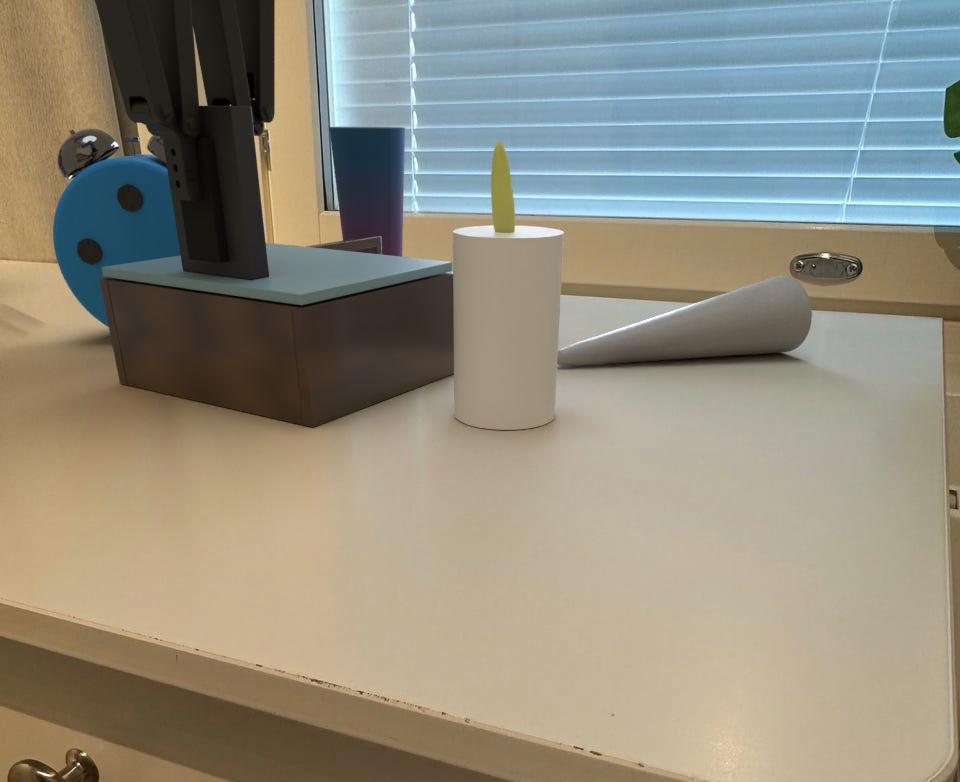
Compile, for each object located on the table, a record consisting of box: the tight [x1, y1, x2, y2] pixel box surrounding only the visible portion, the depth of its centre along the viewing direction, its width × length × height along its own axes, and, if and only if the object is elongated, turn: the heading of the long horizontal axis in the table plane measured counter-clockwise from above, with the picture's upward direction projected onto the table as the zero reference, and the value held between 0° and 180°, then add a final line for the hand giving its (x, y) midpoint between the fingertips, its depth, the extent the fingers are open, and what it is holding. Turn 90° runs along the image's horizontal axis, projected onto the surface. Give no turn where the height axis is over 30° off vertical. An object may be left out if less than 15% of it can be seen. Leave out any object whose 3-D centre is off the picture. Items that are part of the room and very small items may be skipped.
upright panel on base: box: [102, 105, 453, 305], centre depth 57 cm, size 17×15×10 cm
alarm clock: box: [52, 127, 181, 328], centre depth 70 cm, size 13×6×15 cm, turn 92°
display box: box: [99, 236, 454, 428], centre depth 66 cm, size 18×29×7 cm, turn 148°
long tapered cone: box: [557, 274, 813, 367], centre depth 66 cm, size 6×6×19 cm
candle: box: [452, 140, 565, 431], centre depth 52 cm, size 6×6×15 cm
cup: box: [328, 126, 406, 257], centre depth 84 cm, size 7×7×15 cm
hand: (223, 257), depth 55 cm, fingers closed on upright panel on base, 2 cm apart
